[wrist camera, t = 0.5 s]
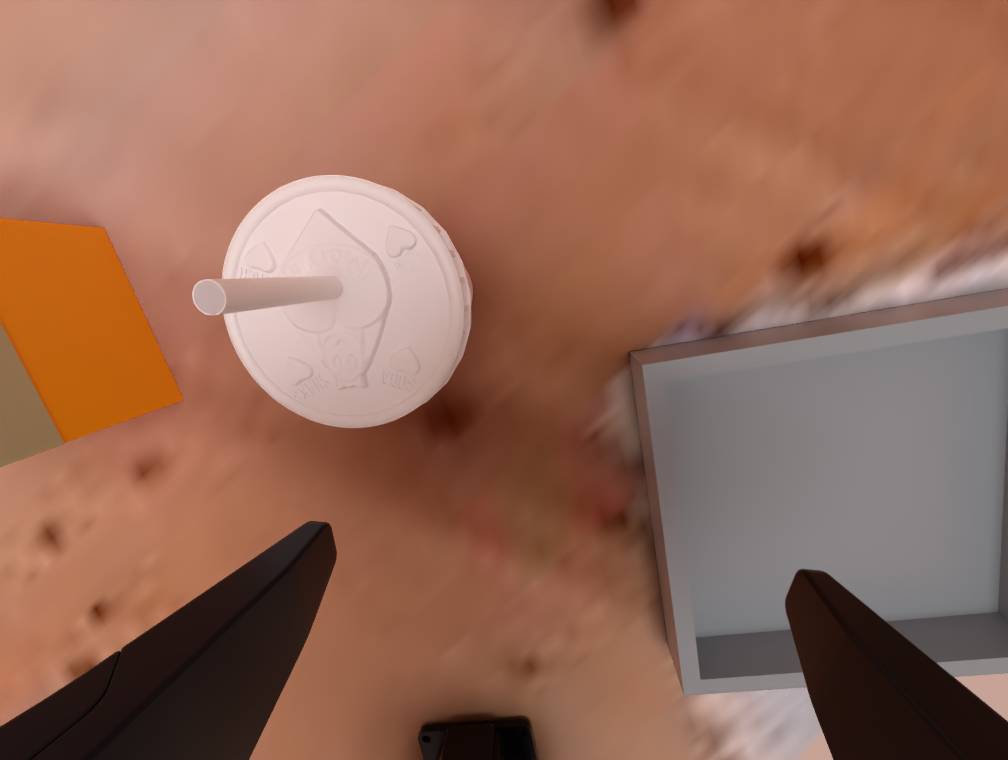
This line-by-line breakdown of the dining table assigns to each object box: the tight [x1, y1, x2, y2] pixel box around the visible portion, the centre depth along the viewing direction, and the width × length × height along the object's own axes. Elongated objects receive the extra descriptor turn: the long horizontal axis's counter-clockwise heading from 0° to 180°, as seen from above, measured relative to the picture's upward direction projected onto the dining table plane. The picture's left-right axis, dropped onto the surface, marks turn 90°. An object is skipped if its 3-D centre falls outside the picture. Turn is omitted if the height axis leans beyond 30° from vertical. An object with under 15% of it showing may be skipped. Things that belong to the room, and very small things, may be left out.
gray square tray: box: [629, 289, 1008, 696], centre depth 20 cm, size 16×16×3 cm
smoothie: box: [192, 175, 473, 428], centre depth 14 cm, size 6×6×14 cm
